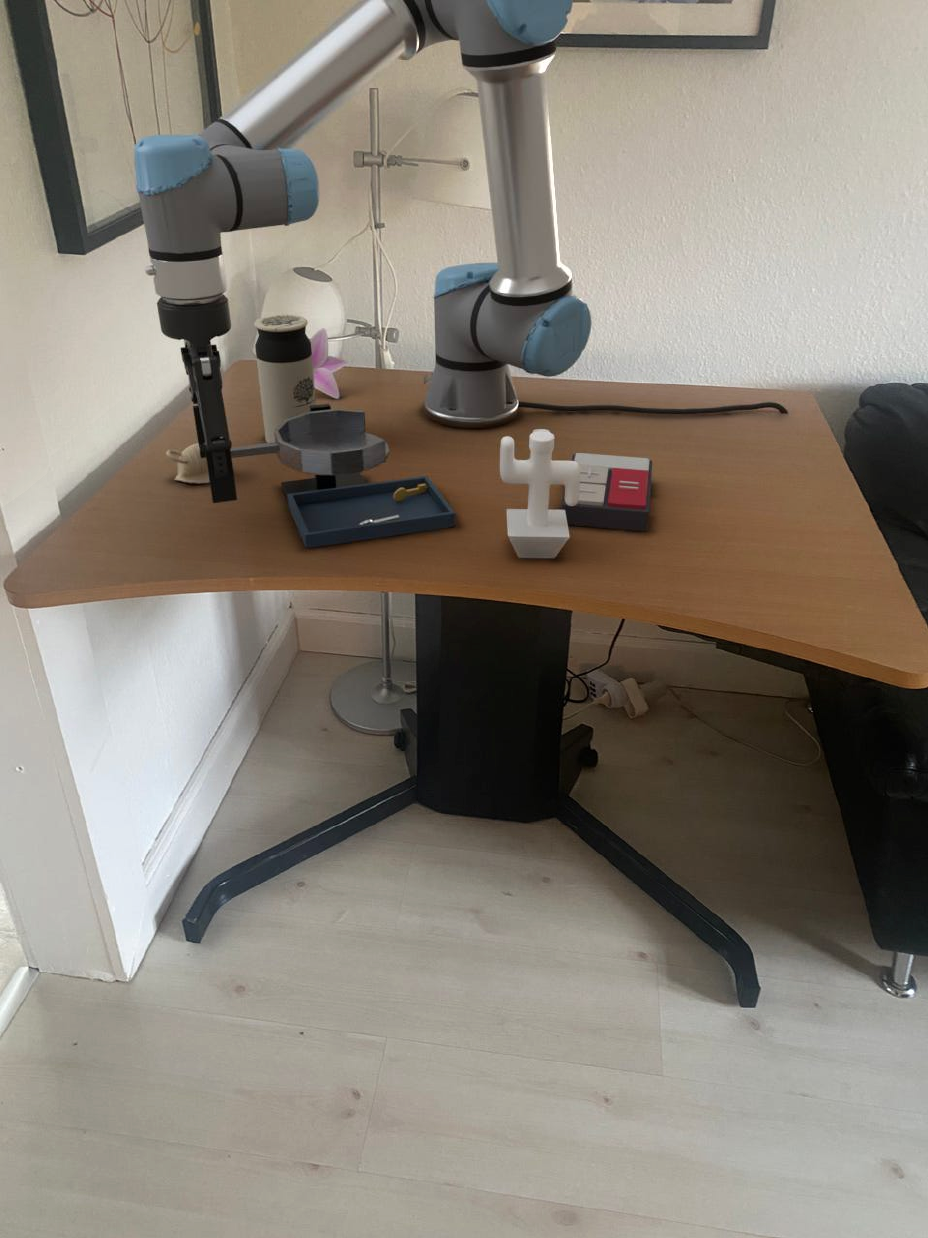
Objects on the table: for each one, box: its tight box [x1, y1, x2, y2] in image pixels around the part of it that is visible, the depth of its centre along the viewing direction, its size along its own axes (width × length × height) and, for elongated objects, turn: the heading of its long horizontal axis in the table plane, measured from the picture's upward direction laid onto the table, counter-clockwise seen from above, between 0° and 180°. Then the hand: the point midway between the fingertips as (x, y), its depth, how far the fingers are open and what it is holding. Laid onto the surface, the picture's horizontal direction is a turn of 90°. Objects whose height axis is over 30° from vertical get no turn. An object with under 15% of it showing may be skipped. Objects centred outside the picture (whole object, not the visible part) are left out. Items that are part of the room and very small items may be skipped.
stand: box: [280, 403, 367, 503], centre depth 127 cm, size 11×5×12 cm, turn 109°
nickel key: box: [359, 515, 399, 525], centre depth 120 cm, size 6×2×1 cm
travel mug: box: [254, 314, 317, 443], centre depth 141 cm, size 8×8×18 cm
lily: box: [309, 327, 348, 400], centre depth 162 cm, size 12×12×10 cm
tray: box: [287, 475, 456, 549], centre depth 123 cm, size 19×12×2 cm, turn 109°
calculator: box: [560, 452, 653, 533], centre depth 127 cm, size 11×4×15 cm
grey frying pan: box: [204, 408, 390, 476], centre depth 116 cm, size 22×15×3 cm, turn 109°
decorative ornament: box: [165, 442, 210, 485], centre depth 132 cm, size 4×8×5 cm, turn 129°
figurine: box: [499, 428, 580, 559], centre depth 113 cm, size 7×9×15 cm
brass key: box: [393, 484, 428, 501], centre depth 128 cm, size 6×2×1 cm
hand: (217, 477), depth 115 cm, fingers open, 13 cm apart
